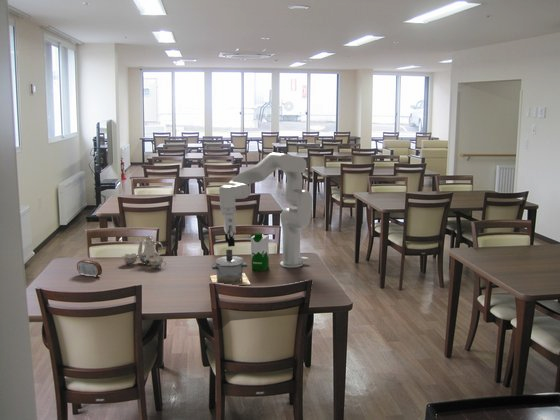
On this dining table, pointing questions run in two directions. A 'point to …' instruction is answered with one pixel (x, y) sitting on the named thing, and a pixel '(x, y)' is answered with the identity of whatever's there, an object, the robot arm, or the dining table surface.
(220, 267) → the pot
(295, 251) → the robot arm
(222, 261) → the lid
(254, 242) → the soya milk
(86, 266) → the tin
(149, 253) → the chinaware
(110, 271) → the dining table surface
